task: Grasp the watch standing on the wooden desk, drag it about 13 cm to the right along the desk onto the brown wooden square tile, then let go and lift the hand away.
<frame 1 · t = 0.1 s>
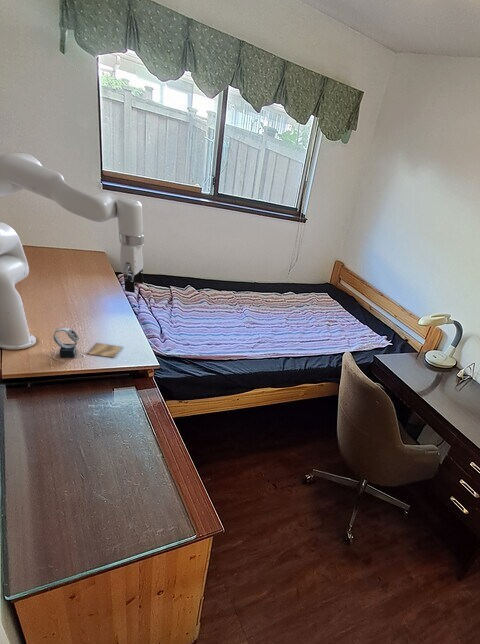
hand: (134, 287, 140), 31 cm above the table, tool pointing down, fingers open, 9 cm apart
watch: (69, 354, 150), on the table
brown wooden square tile: (105, 350, 157), on the table
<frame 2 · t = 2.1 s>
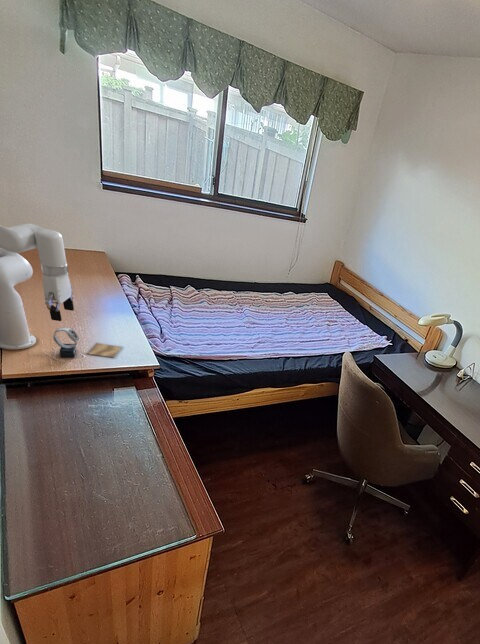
hand: (63, 314, 141), 17 cm above the table, tool pointing down, fingers open, 9 cm apart
nothing on the table moved.
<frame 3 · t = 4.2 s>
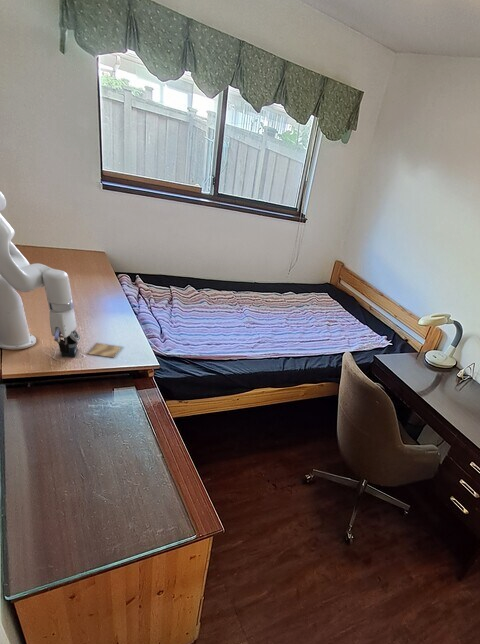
hand: (68, 348, 148), 3 cm above the table, tool pointing down, fingers closed on watch, 5 cm apart
watch: (70, 353, 151), on the table, touching gripper
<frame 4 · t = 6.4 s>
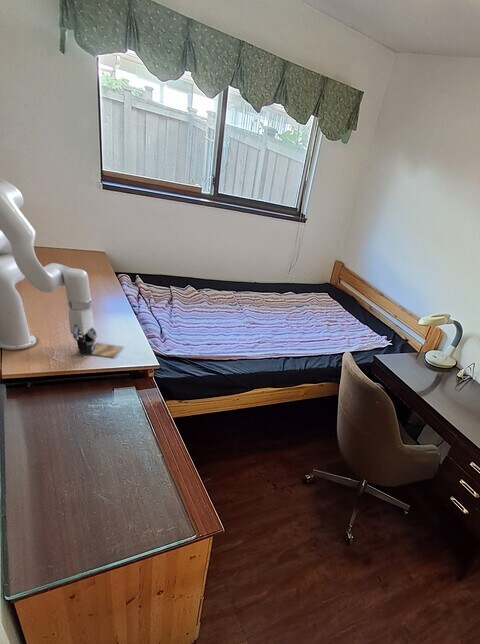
hand: (86, 345, 152), 3 cm above the table, tool pointing down, fingers closed on watch, 4 cm apart
watch: (87, 350, 154), on the table, touching gripper
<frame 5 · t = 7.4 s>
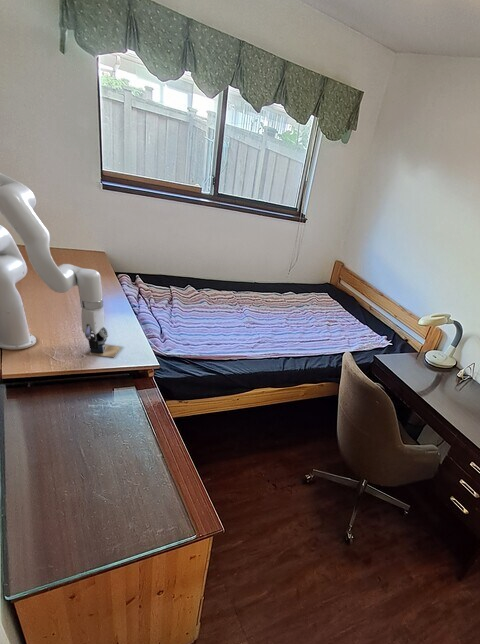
hand: (97, 345, 154), 3 cm above the table, tool pointing down, fingers closed on watch, 4 cm apart
watch: (98, 349, 156), resting on brown wooden square tile, touching gripper
when the fingers open (3 cm above the table, at t = 8.5 s): watch stays where it is, resting on brown wooden square tile.
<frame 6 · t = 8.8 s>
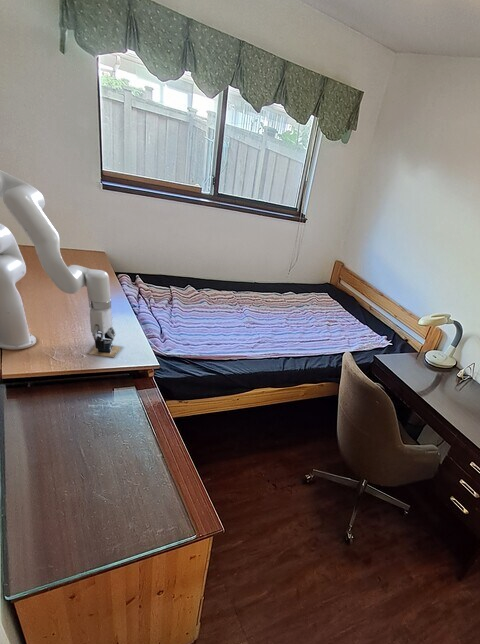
hand: (104, 343, 155), 3 cm above the table, tool pointing down, fingers open, 8 cm apart
watch: (105, 349, 158), resting on brown wooden square tile
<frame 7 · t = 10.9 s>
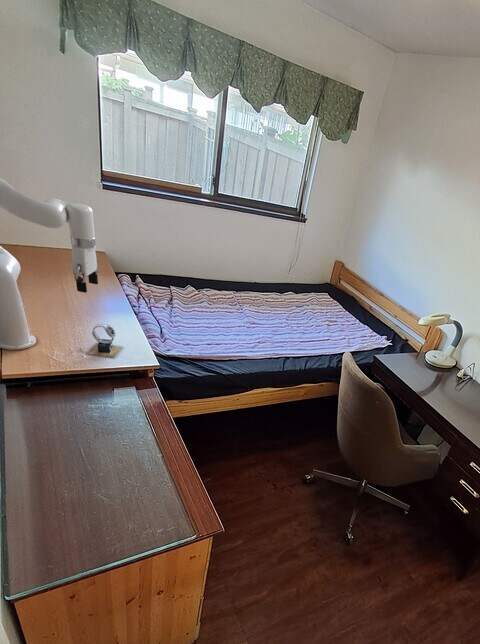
hand: (88, 287, 147), 24 cm above the table, tool pointing down, fingers open, 9 cm apart
nothing on the table moved.
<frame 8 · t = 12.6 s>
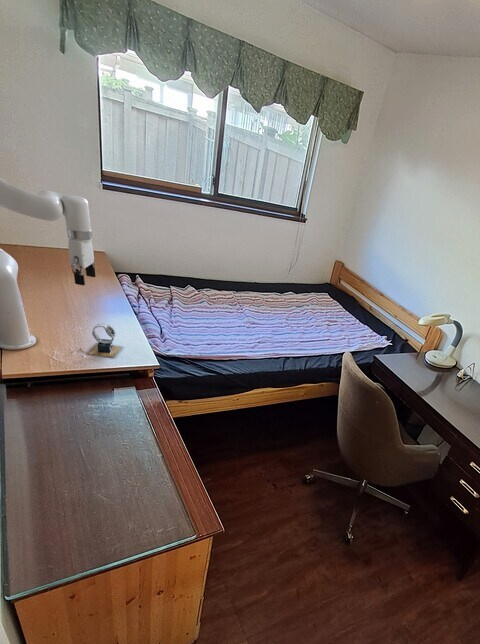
hand: (85, 280, 147), 26 cm above the table, tool pointing down, fingers open, 9 cm apart
nothing on the table moved.
at the end: watch 0.8 cm off-centre on the brown wooden square tile, point 0.1 cm above the brown wooden square tile's base; watch tilted 0°; the gripper is holding nothing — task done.
